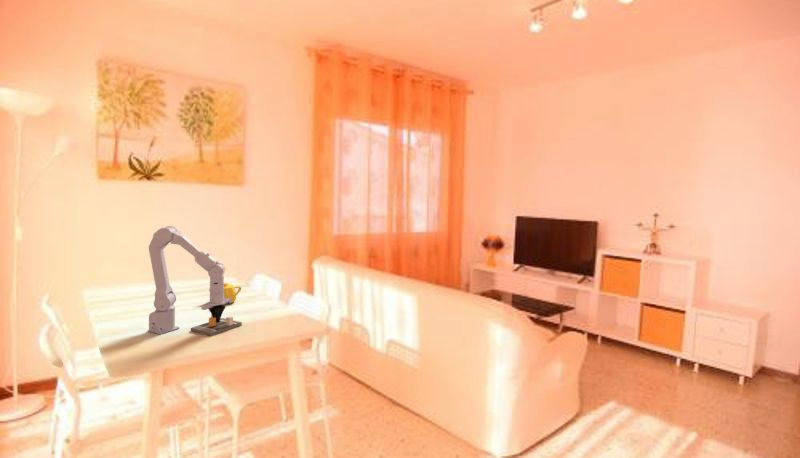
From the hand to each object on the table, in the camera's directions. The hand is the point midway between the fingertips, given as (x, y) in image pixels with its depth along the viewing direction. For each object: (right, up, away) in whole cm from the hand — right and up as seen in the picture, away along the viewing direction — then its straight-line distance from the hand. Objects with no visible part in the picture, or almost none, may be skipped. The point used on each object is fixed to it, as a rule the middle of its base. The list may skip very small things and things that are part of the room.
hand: (216, 322), depth 193 cm
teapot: (-13, +1, +42) cm, 44 cm away
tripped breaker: (-1, -1, -2) cm, 3 cm away
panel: (0, -3, 0) cm, 3 cm away
